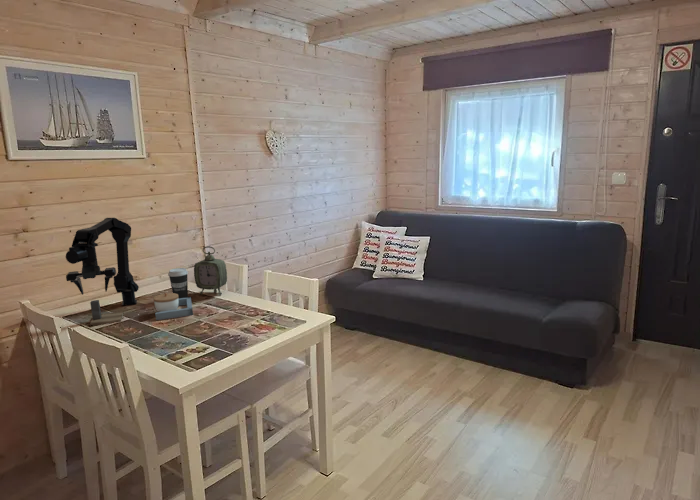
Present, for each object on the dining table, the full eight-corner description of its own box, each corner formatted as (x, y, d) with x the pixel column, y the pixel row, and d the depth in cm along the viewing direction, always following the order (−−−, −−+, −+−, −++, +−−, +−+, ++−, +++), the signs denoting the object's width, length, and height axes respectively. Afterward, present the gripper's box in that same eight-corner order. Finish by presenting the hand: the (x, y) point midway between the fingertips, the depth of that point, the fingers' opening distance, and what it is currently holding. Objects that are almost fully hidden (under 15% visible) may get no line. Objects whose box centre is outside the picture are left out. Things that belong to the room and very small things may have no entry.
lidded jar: (184, 309, 222) (182, 289, 220) (171, 317, 212) (169, 297, 210) (164, 308, 224) (161, 289, 222) (150, 316, 214) (147, 296, 212)
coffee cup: (166, 301, 235) (163, 272, 232) (178, 295, 244) (175, 267, 241) (183, 302, 232) (179, 272, 229) (194, 296, 241) (191, 267, 238)
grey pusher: (94, 318, 215) (91, 298, 213) (123, 314, 219) (120, 294, 217) (90, 326, 204) (87, 305, 202) (121, 322, 208) (118, 301, 206)
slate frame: (157, 307, 225) (156, 301, 225) (191, 302, 231) (190, 297, 230) (156, 320, 208) (155, 313, 207) (193, 314, 213) (192, 308, 213)
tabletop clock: (196, 295, 242) (191, 247, 237) (205, 290, 251) (200, 244, 246) (221, 296, 239) (217, 248, 234) (230, 291, 248) (226, 244, 242)
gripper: (60, 264, 194) (66, 301, 197) (111, 259, 200) (116, 294, 203) (66, 259, 204) (71, 293, 207) (113, 254, 211) (118, 288, 214)
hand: (94, 292), depth 208 cm, fingers open, 9 cm apart
